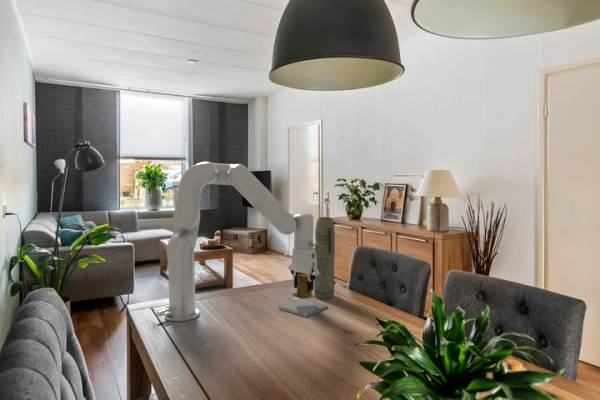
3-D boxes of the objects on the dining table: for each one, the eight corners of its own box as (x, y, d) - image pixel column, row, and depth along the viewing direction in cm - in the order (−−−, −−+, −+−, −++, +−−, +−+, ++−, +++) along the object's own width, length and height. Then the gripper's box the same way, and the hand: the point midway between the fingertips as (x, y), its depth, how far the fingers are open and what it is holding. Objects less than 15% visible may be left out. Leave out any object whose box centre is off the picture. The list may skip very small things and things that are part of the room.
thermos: (321, 290, 177) (322, 215, 175) (340, 297, 168) (341, 218, 166) (307, 294, 172) (308, 217, 169) (326, 301, 163) (327, 219, 160)
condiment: (314, 298, 152) (315, 268, 151) (294, 299, 150) (294, 269, 149) (310, 292, 159) (310, 264, 158) (290, 294, 157) (290, 265, 156)
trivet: (305, 317, 144) (305, 315, 144) (278, 309, 153) (278, 306, 153) (327, 307, 155) (327, 305, 155) (301, 300, 164) (301, 298, 164)
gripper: (326, 245, 150) (326, 291, 151) (293, 240, 161) (293, 282, 162) (315, 248, 144) (314, 295, 145) (281, 243, 155) (281, 286, 156)
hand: (303, 288), depth 154 cm, fingers closed on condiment, 6 cm apart
